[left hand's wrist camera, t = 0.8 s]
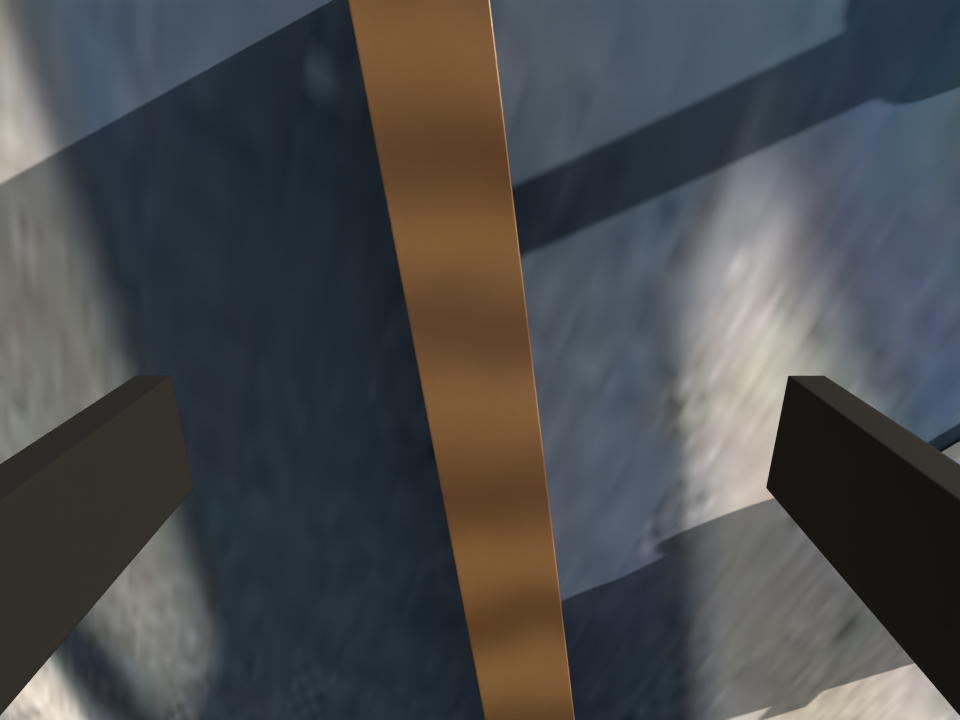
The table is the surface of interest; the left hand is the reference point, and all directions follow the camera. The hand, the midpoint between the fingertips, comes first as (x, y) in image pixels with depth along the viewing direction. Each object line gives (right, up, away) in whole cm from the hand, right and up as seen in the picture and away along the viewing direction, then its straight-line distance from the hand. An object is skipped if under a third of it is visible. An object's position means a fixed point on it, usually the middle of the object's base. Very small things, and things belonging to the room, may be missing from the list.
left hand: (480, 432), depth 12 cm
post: (+3, -14, +26) cm, 30 cm away
